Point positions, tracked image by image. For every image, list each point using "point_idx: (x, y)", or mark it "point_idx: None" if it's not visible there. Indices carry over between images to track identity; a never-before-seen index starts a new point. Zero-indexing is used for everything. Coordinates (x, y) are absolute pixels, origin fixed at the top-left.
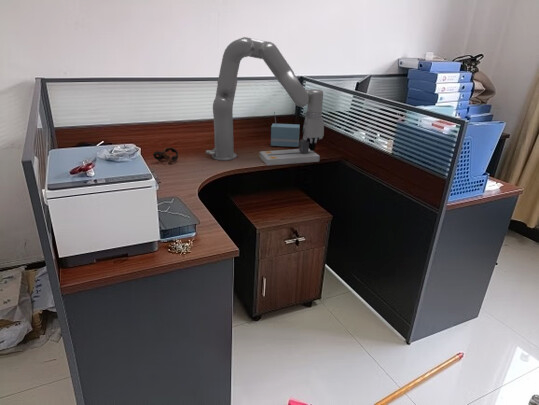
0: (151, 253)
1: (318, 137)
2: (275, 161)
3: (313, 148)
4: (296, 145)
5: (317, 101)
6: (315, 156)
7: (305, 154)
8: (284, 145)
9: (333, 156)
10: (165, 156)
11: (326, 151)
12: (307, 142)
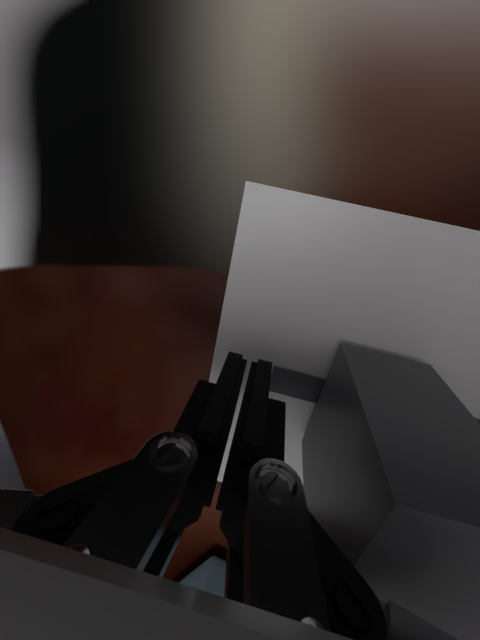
0: None
1: (22, 542)
2: None
3: (240, 374)
4: (223, 573)
5: None
6: (315, 197)
7: (393, 333)
8: None
9: (32, 270)
10: None
11: (46, 403)
12: (435, 501)
